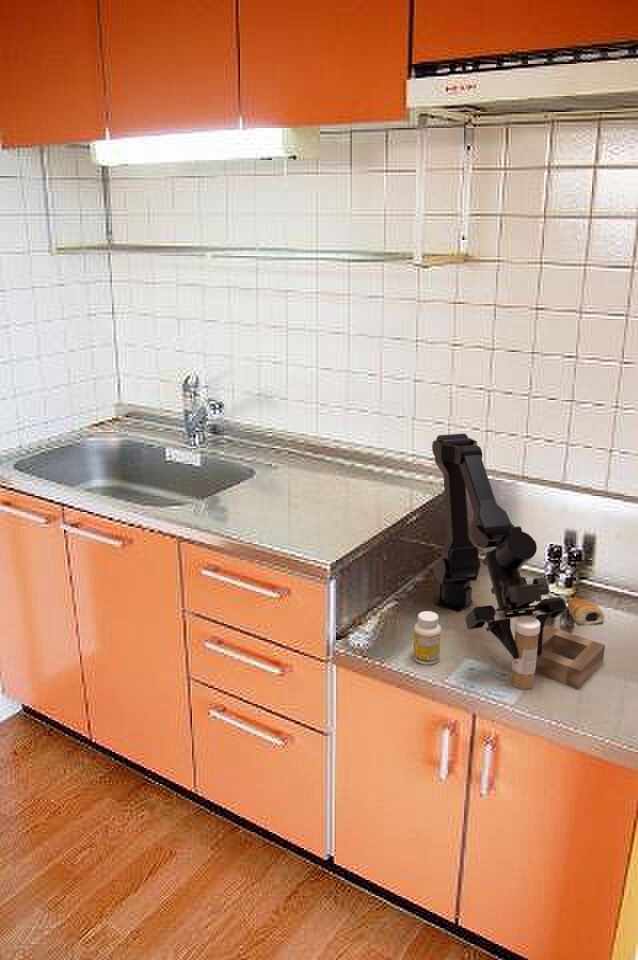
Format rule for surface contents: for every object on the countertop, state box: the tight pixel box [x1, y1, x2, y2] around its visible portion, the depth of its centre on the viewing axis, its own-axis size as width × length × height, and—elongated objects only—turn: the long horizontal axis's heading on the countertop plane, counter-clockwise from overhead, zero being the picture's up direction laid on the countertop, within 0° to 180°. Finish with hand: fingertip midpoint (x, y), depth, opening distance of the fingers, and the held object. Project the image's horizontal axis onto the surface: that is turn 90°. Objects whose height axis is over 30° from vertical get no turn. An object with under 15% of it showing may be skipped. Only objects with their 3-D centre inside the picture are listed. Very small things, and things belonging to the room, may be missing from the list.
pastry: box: [567, 597, 605, 626], centre depth 175 cm, size 9×7×4 cm
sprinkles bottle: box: [509, 616, 540, 690], centre depth 148 cm, size 5×5×13 cm
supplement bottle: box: [412, 610, 442, 666], centre depth 157 cm, size 5×5×10 cm
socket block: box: [535, 625, 606, 690], centre depth 156 cm, size 12×12×4 cm
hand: (528, 657), depth 147 cm, fingers closed on sprinkles bottle, 4 cm apart
